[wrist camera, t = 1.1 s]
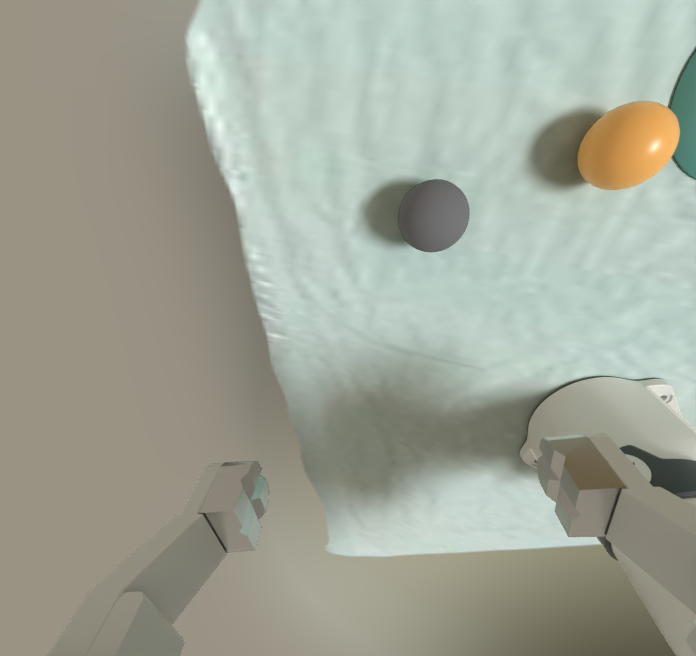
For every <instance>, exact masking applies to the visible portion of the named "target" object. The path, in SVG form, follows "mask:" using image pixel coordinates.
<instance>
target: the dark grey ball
mask: <svg viewBox="0 0 696 656" xmlns="http://www.w3.org/2000/svg"><path fill="white" fill-rule="evenodd" d="M468 221H469V205H468V202H467V199H466V197H465V195H464V193H463V192H462V191H461V190H460V189H459V188H458V187H457V186H456V185H454V184H453V183H451V182H448V181H445V180H438V179H435V180H428V181H425V182H422V183H420V184H418V185H417V186H415V187H414V188H413V189H411V190H410V191H409V192H408V194H407V195H406V196H405V198H404V199H403V201H402V203H401V206H400V209H399V215H398V223H399V228H400V231H401V234H402V236H403V237H404V239H405V240H406V241H407V242H408V243H409V244H410V245H411V246H412V247H414V248H416V249H418V250H421V251H424V252H438V251H442V250H444V249H447V248H449V247H450V246H452V245H453V244H454V243H456V242H457V241H458V240H459V239H460V237H461V236H462V235H463V233H464V232H465V229H466V227H467V225H468Z"/></svg>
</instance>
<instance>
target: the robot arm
mask: <svg viewBox="0 0 696 656" xmlns="http://www.w3.org/2000/svg"><path fill="white" fill-rule="evenodd" d="M520 457H521V458H522V460H523V461H524V462H525V463H526V464H528V465H530V466H531V467H533V468H535V469H536V470H537V472H538V477H539V480H540V483H541V486H542V488H543V490H544V492H545V494H546V495H547V496H548V497H549V498H551V499H552V500H553V501H555V502H556V507H555V513H556V515H557V516H558V518H559V520H560V522H561V524H562V526H563V528H564V530H565V531H566V533H567V535H568V537H597V538H598V540H599V541H600V542H601V544H603V546H604V547H605V548H606V550H607V552H608V553H609V555H610V556H611V557H613V558H614V559H616V560H617V561H619V563H620V565H621V566H622V568H623V570H624V571H625V573H626V574H627V576H628V578H629V579H630V581H631V583H632V584H633V586H634V587H635V589H636V591H637V593H638V594H639V596H640V598H641V599H642V601H643V602H644V604H645V606H646V607H647V609H648V611H649V612H650V614H651V616H652V617H653V619H654V621H655V622H656V624H657V626H658V627H659V629H660V631H661V632H662V634H663V635H664V637H665V638H666V640H667V642H668V644H669V645H670V647H671V648H672V650H673V651H674V653H675V654H676V655H677V656H696V429H695V428H694V427H693V426H692V425H690V424H689V423H688V422H687V421H686V420H685V419H684V418H683V417H682V416H681V412H680V409H679V406H678V403H677V399H676V396H675V393H674V390H673V387H672V386H671V385H670V384H669V383H668V382H667V381H666V380H664V379H649V380H641V381H633V380H627V379H622V378H615V377H599V378H591V379H586V380H582V381H579V382H576V383H573V384H570V385H568V386H566V387H564V388H562V389H560V390H558V391H556V392H555V393H553V394H552V395H550V396H549V397H548V398H547V399H545V400H544V401H543V402H542V403H541V404H540V405H539V406H538V408H537V409H536V410H535V412H534V413H533V415H532V417H531V419H530V422H529V426H528V437H527V441H526V442H525V444H524V445H523V447H522V448H521V450H520ZM261 469H262V468H261V466H260V464H259V462H258V461H246V462H228V463H227V462H226V463H212V464H209V465H207V466H206V467H205V469H204V470H203V472H202V474H201V476H200V478H199V480H198V481H197V483H196V485H195V487H194V489H193V491H192V493H191V495H190V497H189V499H188V501H187V503H186V504H185V506H184V508H183V510H182V512H181V514H180V515H175V516H174V517H173V518H172V519H170V520H169V521H168V522H167V523H166V524H165V525H164V526H162V527H161V528H160V529H159V530H158V531H157V532H156V533H154V534H153V535H152V536H151V537H150V538H149V539H148V540H147V541H145V542H144V543H143V544H142V545H141V546H140V547H139V548H138V549H136V550H135V551H134V552H133V553H132V554H130V555H129V556H128V557H127V558H126V559H125V560H124V561H122V562H121V563H120V564H119V565H118V566H117V567H116V568H114V569H113V570H112V571H111V572H110V573H109V574H108V575H107V576H105V577H104V578H103V579H102V580H101V581H100V582H99V583H97V584H96V585H95V586H94V587H93V588H92V589H91V590H89V592H88V593H87V595H86V596H85V598H84V599H83V601H82V602H81V604H80V606H79V607H78V609H77V610H76V612H75V613H74V615H73V616H72V618H71V619H70V621H69V623H68V624H67V626H66V627H65V629H64V630H63V632H62V634H61V635H60V637H59V638H58V640H57V641H56V643H55V645H54V646H53V648H52V649H51V651H50V652H49V654H48V655H47V656H180V654H181V651H182V649H183V646H184V640H183V637H182V636H181V635H180V634H179V632H178V631H177V630H176V629H175V628H174V627H173V626H172V624H173V623H174V622H175V620H176V619H177V618H178V617H179V615H180V614H181V613H182V612H183V610H184V609H185V608H186V606H187V605H188V604H189V603H190V601H191V600H192V599H193V597H194V596H195V595H196V593H197V592H198V591H199V590H200V588H201V587H202V586H203V585H204V583H205V582H206V581H207V579H208V578H209V577H210V575H211V574H212V573H213V572H214V570H215V569H216V568H217V567H218V565H219V564H220V563H221V562H222V560H223V559H224V558H225V556H226V555H227V554H226V553H229V552H243V551H254V550H255V548H256V545H257V542H258V538H259V535H260V531H261V528H262V526H261V523H260V521H259V519H260V518H261V517H262V515H263V514H264V513H265V512H266V510H267V506H268V502H269V487H268V483H267V480H266V479H265V478H264V477H263V476H261V475H260V472H261Z"/></svg>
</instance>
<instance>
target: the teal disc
mask: <svg viewBox="0 0 696 656" xmlns="http://www.w3.org/2000/svg"><path fill="white" fill-rule="evenodd" d="M670 110H671V111H672V112H673V113H674V114H675V116H676V117H677V119H678V122H679V127H680V137H679V142H678V145H677V148H676V150H675V152H674V154H673V156H674V158H675V160H676V161H677V163H678V164H679V166H680V167H681V168H682V169H683V170H684V171H685V172H686V173H687V174H689V175H690V176H692V177H693V178H695V179H696V51H695V53H694V54H693V56H692V57H691V59H690V61H689V62H688V64H687V66H686V68H685V70H684V72H683V74H682V76H681V78H680V80H679V83H678V85H677V87H676V90H675V93H674V96H673V99H672V103H671V108H670Z"/></svg>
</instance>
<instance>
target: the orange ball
mask: <svg viewBox="0 0 696 656" xmlns="http://www.w3.org/2000/svg"><path fill="white" fill-rule="evenodd" d="M679 137H680V127H679V122H678V119H677V117H676V116H675V114H674V113H673V112H672V111H671V110H670V109H669V108H668V107H666V106H664V105H662V104H660V103H657V102H652V101H638V102H632V103H628V104H625V105H622V106H619V107H617V108H615V109H613V110H611V111H610V112H608V113H606V114H605V115H604V116H602V117H601V118H600V119H599V120H598V121H596V122H595V123H594V124H593V126H592V127H591V128H590V129H589V130H588V132H587V133H586V135H585V136H584V138H583V140H582V142H581V144H580V147H579V151H578V168H579V171H580V173H581V175H582V176H583V178H584V179H585V180H586V181H587V182H588V183H590V184H591V185H593V186H595V187H597V188H601V189H605V190H620V189H626V188H630V187H633V186H636V185H638V184H640V183H642V182H644V181H646V180H648V179H649V178H651V177H652V176H654V175H655V174H656V173H658V172H659V171H660V170H661V169H662V168H663V167H664V166H665V165H666V164H667V162H668V161H669V160H670V158H671V157H672V155H673V154H674V152H675V150H676V148H677V145H678V142H679Z"/></svg>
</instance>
